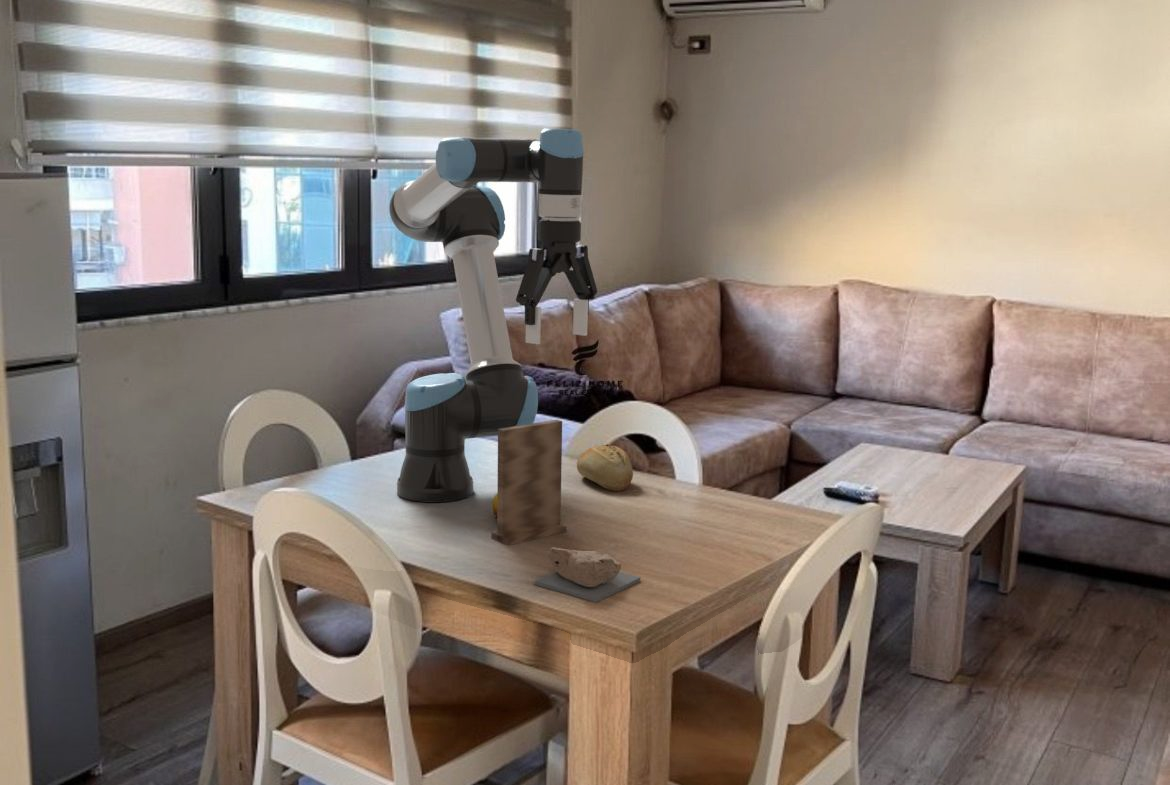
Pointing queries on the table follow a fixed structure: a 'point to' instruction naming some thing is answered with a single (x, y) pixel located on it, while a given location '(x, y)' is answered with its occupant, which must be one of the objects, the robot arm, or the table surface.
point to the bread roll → (606, 467)
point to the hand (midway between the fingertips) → (557, 339)
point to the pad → (589, 593)
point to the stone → (584, 566)
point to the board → (529, 482)
